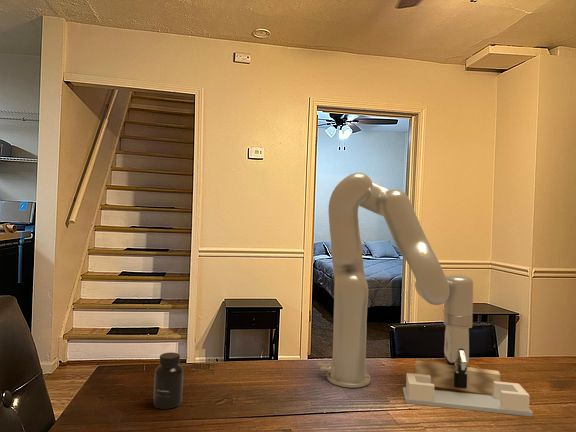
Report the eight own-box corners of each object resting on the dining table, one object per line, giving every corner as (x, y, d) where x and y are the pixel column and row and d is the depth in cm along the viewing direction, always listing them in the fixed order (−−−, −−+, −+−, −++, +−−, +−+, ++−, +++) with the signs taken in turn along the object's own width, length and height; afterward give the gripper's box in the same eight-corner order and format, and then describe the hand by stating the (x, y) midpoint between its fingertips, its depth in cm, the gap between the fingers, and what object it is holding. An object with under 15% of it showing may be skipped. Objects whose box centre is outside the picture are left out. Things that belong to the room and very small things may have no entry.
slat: (415, 384, 120) (415, 363, 120) (415, 380, 123) (415, 360, 123) (499, 396, 114) (500, 374, 114) (497, 392, 117) (498, 370, 117)
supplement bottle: (156, 412, 99) (157, 361, 99) (151, 400, 105) (152, 352, 105) (185, 407, 102) (186, 357, 102) (178, 396, 108) (180, 349, 108)
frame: (405, 403, 107) (406, 383, 107) (402, 390, 115) (403, 372, 115) (533, 416, 102) (533, 396, 102) (521, 402, 110) (521, 383, 110)
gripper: (438, 312, 128) (437, 368, 128) (450, 326, 111) (448, 392, 111) (464, 313, 126) (463, 371, 126) (480, 328, 109) (478, 394, 109)
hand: (456, 380), depth 118 cm, fingers open, 9 cm apart
